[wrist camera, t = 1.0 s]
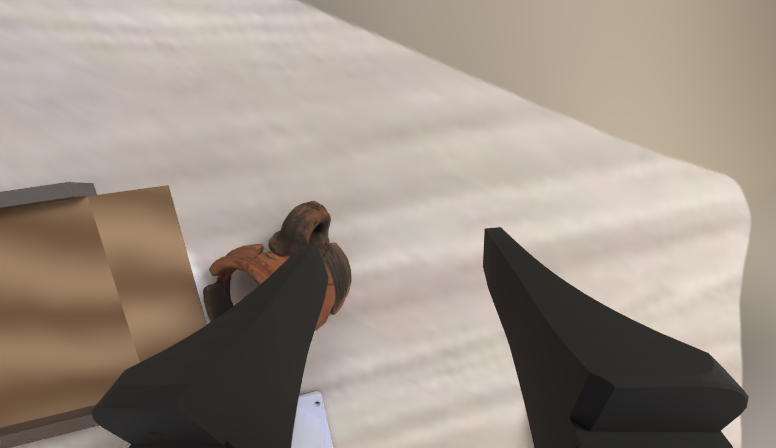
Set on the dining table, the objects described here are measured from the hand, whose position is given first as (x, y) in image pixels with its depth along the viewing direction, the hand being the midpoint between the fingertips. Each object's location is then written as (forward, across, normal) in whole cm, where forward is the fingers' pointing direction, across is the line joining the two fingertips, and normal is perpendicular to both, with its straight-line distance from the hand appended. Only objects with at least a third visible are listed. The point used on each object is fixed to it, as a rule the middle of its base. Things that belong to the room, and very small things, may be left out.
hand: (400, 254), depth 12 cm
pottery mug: (+8, +10, +7) cm, 15 cm away
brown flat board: (+3, +28, +6) cm, 28 cm away
